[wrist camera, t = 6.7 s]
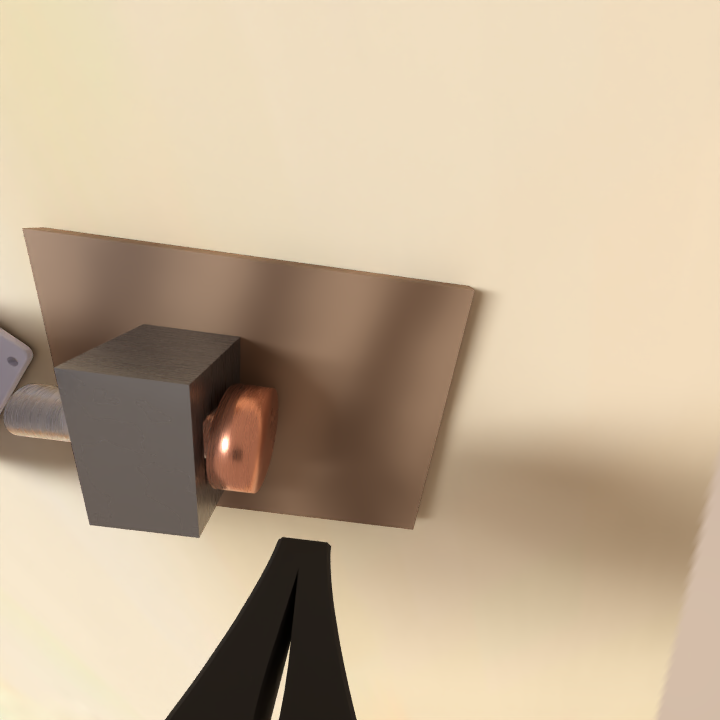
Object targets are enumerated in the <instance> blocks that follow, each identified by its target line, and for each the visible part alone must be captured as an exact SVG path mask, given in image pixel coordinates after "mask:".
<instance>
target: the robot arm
mask: <svg viewBox="0 0 720 720" xmlns="http://www.w3.org/2000/svg"><path fill="white" fill-rule="evenodd" d="M32 358H33V352H32V350H31V349H30V348H29V347H28V346H27V345H25V344H24V343H22V342H21V341H19V340H18V339H16V338H15V337H13V336H12V335H10V334H9V333H7V332H6V331H4V330H3V329H1V328H0V414H1V412H2V410H3V408H4V407H5V405H6V403H7V402H8V400H9V398H10V396H11V395H12V393H13V391H14V389H15V388H16V386H17V384H18V383H19V381H20V379H21V377H22V376H23V374H24V372H25V371H26V369H27V367H28V365H29V364H30V362H31V360H32ZM15 359H16V360H17V361H18V362H17V361H16V360H15ZM330 552H331V546H330V545H329V544H328V543H327V542H319V541H310V540H302V539H294V538H285V537H282V538H281V539H279V540H278V542H277V545H276V547H275V549H274V552H273V554H272V556H271V558H270V560H269V562H268V564H267V566H266V568H265V570H264V571H263V573H262V575H261V577H260V579H259V581H258V582H257V584H256V586H255V588H254V589H253V591H252V593H251V594H250V596H249V598H248V599H247V601H246V603H245V604H244V606H243V608H242V609H241V611H240V613H239V614H238V616H237V618H236V619H235V621H234V622H233V624H232V626H231V627H230V629H229V630H228V632H227V633H226V635H225V636H224V638H223V639H222V641H221V642H220V644H219V645H218V646H217V648H216V649H215V651H214V652H213V654H212V655H211V657H210V658H209V660H208V661H207V663H206V664H205V666H204V667H203V669H202V670H201V671H200V673H199V674H198V676H197V677H196V678H195V680H194V681H193V683H192V684H191V685H190V687H189V688H188V690H187V691H186V692H185V694H184V695H183V696H182V698H181V699H180V700H179V702H178V703H177V704H176V706H175V707H174V708H173V710H172V711H171V712H170V714H169V715H168V716H167V718H166V719H165V720H271V717H272V713H273V709H274V705H275V701H276V697H277V693H278V689H279V685H280V681H281V677H282V673H283V669H284V665H285V662H286V658H287V654H288V650H289V646H290V654H289V663H288V670H287V677H286V684H285V691H284V696H283V701H282V707H281V712H280V717H279V720H357V719H356V715H355V711H354V707H353V703H352V699H351V694H350V690H349V686H348V681H347V676H346V672H345V667H344V662H343V657H342V652H341V647H340V641H339V635H338V629H337V623H336V616H335V610H334V602H333V593H332V583H331V567H330ZM290 642H291V644H290Z"/></svg>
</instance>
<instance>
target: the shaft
mask: <svg viewBox="0 0 720 720" xmlns="http://www.w3.org/2000/svg"><path fill="white" fill-rule="evenodd" d="M277 422H278V395H277V391H276V389H275V388H269V387H262V386H254V385H246V384H238V383H235V384H233V385H231V386H230V387H229V388H228V389H227V391H226V392H225V393H224V395H223V397H222V399H221V401H220V403H219V405H218V407H215V408H214V409H213V411H212V412H211V413H210V414H209V416H208V417H207V418H206V419H205V421H204V422H203V441H204V459H206V472H207V479H208V482H209V484H210V486H211V487H212V488H214V489H221V490H229V491H238V492H246V493H257V492H258V490H259V489H260V487H261V486H262V484H263V481H264V479H265V476H266V474H267V471H268V467H269V464H270V460H271V456H272V452H273V448H274V442H275V437H276V430H277ZM4 424H5V426H6V428H7V430H8V431H9V432H11V433H12V434H14V435H18V436H26V437H34V438H42V439H50V440H58V441H66V442H71V441H70V436H69V432H68V428H67V423H66V419H65V415H64V410H63V406H62V401H61V397H60V393H59V388H58V386H51V385H43V384H28V385H25V386H23V387H21V388H20V389H18V390H17V391H16V392H15V393H14V394H13V395H12V396H11V397H10V399H9V400H8V402H7V404H6V407H5V410H4Z"/></svg>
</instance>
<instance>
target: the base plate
mask: <svg viewBox="0 0 720 720" xmlns="http://www.w3.org/2000/svg"><path fill="white" fill-rule="evenodd" d="M22 229H23V233H24V237H25V242H26V246H27V250H28V255H29V259H30V264H31V268H32V272H33V277H34V281H35V285H36V290H37V294H38V299H39V303H40V307H41V312H42V316H43V320H44V325H45V329H46V334H47V338H48V342H49V347H50V351H51V356H52V360H53V364H54V367H56V366H58V365H60V364H62V363H64V362H66V361H68V360H70V359H73V358H75V357H77V356H79V355H81V354H83V353H85V352H87V351H89V350H91V349H93V348H95V347H97V346H99V345H101V344H103V343H105V342H107V341H110V340H112V339H114V338H116V337H118V336H120V335H122V334H124V333H126V332H128V331H130V330H132V329H134V328H136V327H138V326H140V325H142V324H148V325H156V326H163V327H171V328H178V329H186V330H193V331H201V332H208V333H216V334H224V335H231V336H239V337H240V384H246V385H254V386H262V387H269V388H275V389H276V391H277V395H278V422H277V430H276V437H275V442H274V448H273V452H272V456H271V460H270V464H269V467H268V471H267V474H266V476H265V479H264V481H263V484H262V486H261V487H260V489H259V490H258V492H257V493H246V492H238V491H229V490H224V492H223V494H222V496H221V498H220V500H219V501H218V503H217V505H216V506H222V507H230V508H239V509H247V510H255V511H263V512H272V513H280V514H288V515H297V516H305V517H313V518H322V519H330V520H338V521H346V522H355V523H363V524H371V525H380V526H388V527H396V528H404V529H413V528H414V524H415V520H416V516H417V512H418V508H419V504H420V501H421V497H422V493H423V489H424V485H425V481H426V477H427V473H428V470H429V466H430V462H431V458H432V454H433V450H434V446H435V442H436V439H437V435H438V431H439V427H440V423H441V419H442V415H443V412H444V408H445V404H446V400H447V396H448V392H449V388H450V384H451V381H452V377H453V373H454V369H455V365H456V361H457V357H458V353H459V350H460V346H461V342H462V338H463V334H464V330H465V326H466V322H467V319H468V315H469V311H470V307H471V303H472V299H473V295H474V291H475V290H473V289H472V288H471V287H469V286H465V285H457V284H450V283H443V282H436V281H428V280H421V279H414V278H407V277H399V276H392V275H385V274H377V273H370V272H363V271H356V270H348V269H341V268H334V267H327V266H319V265H312V264H305V263H298V262H290V261H283V260H276V259H269V258H261V257H254V256H247V255H239V254H232V253H225V252H218V251H210V250H203V249H196V248H189V247H181V246H174V245H167V244H160V243H152V242H145V241H138V240H131V239H123V238H116V237H109V236H102V235H94V234H87V233H80V232H72V231H65V230H58V229H51V228H22Z"/></svg>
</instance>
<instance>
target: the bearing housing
mask: <svg viewBox="0 0 720 720" xmlns="http://www.w3.org/2000/svg"><path fill="white" fill-rule="evenodd" d="M54 371H55V375H56V380H57V384H58V388H59V393H60V397H61V401H62V406H63V410H64V415H65V419H66V423H67V428H68V432H69V436H70V441H71V445H72V449H73V454H74V458H75V463H76V467H77V471H78V476H79V480H80V484H81V489H82V493H83V497H84V502H85V506H86V511H87V515H88V519H89V524H90V525H95V526H103V527H112V528H120V529H129V530H137V531H146V532H154V533H163V534H171V535H179V536H188V537H196V538H199V537H200V535H201V534H202V532H203V530H204V528H205V526H206V524H207V522H208V520H209V518H210V517H211V515H212V513H213V511H214V509H215V507H216V505H217V503H218V501H219V500H220V498H221V496H222V494H223V492H224V490H221V489H214V488H212V487H211V486H210V484H209V482H208V479H207V472H206V459H204V441H203V422H204V421H205V419H206V418H207V417H208V416H209V414H210V413H211V412H212V411H213V409H214V408H215V407H218V405H219V403H220V401H221V399H222V397H223V395H224V393H225V392H226V391H227V389H228V388H229V387H230V386H231V385H233V384H235V383H238V384H240V337H239V336H231V335H224V334H216V333H208V332H201V331H193V330H186V329H178V328H171V327H163V326H156V325H148V324H142V325H140V326H138V327H136V328H134V329H132V330H130V331H128V332H126V333H124V334H122V335H120V336H118V337H116V338H114V339H112V340H110V341H107V342H105V343H103V344H101V345H99V346H97V347H95V348H93V349H91V350H89V351H87V352H85V353H83V354H81V355H79V356H77V357H75V358H73V359H70V360H68V361H66V362H64V363H62V364H60V365H58V366H56V367H54Z"/></svg>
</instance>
